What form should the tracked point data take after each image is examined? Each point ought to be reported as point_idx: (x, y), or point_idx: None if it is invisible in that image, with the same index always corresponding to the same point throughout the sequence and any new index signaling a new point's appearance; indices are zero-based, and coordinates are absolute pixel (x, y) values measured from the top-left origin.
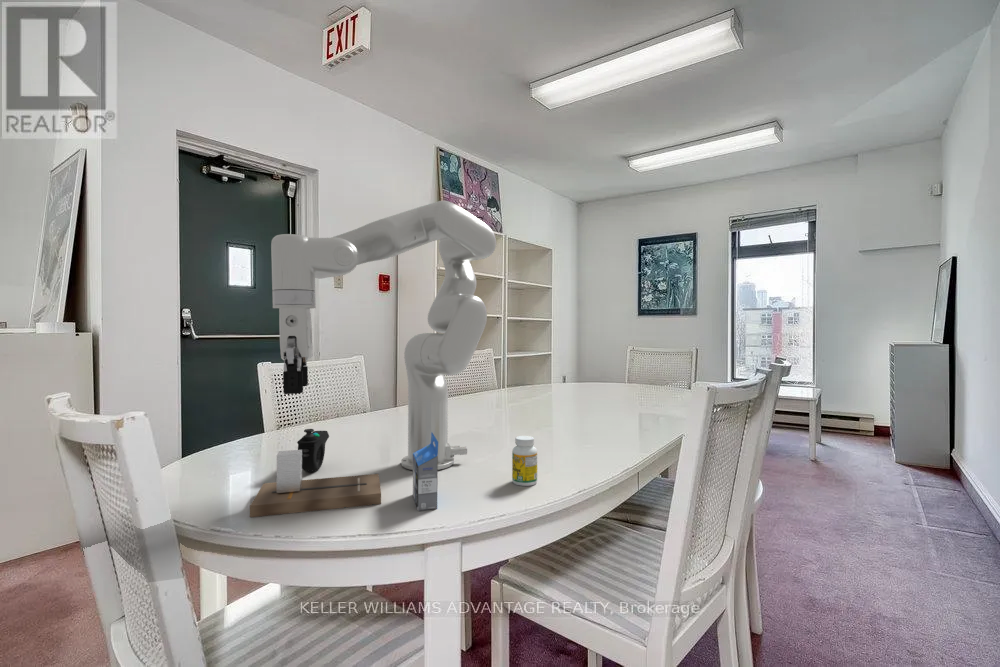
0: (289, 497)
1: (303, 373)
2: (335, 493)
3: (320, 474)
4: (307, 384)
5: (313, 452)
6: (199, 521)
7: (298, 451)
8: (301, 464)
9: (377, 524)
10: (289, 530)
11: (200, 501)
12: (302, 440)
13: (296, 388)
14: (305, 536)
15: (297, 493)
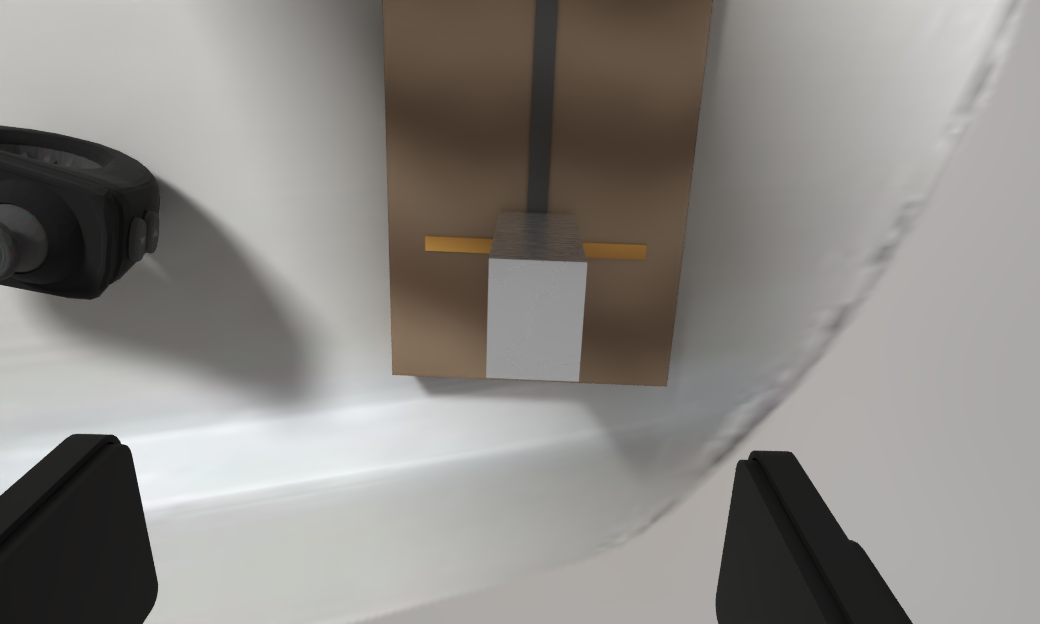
0: (631, 251)
1: (26, 595)
2: (647, 45)
3: (165, 132)
4: (104, 438)
5: (129, 188)
6: (631, 508)
7: (529, 275)
8: (520, 238)
9: None
10: (849, 219)
11: (428, 545)
12: (66, 271)
13: (850, 541)
14: (935, 157)
15: (582, 222)
